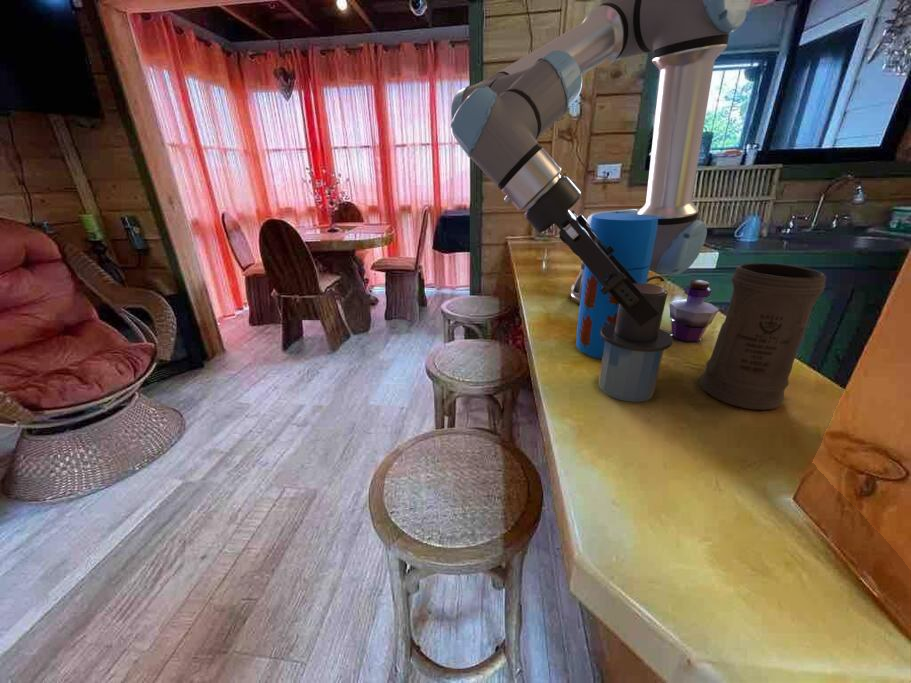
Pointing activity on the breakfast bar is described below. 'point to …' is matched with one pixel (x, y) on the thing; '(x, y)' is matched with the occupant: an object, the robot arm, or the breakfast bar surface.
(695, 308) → the potion bottle
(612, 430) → the breakfast bar surface
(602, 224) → the thermos
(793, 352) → the beer stein
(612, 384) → the cup
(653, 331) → the dripper
